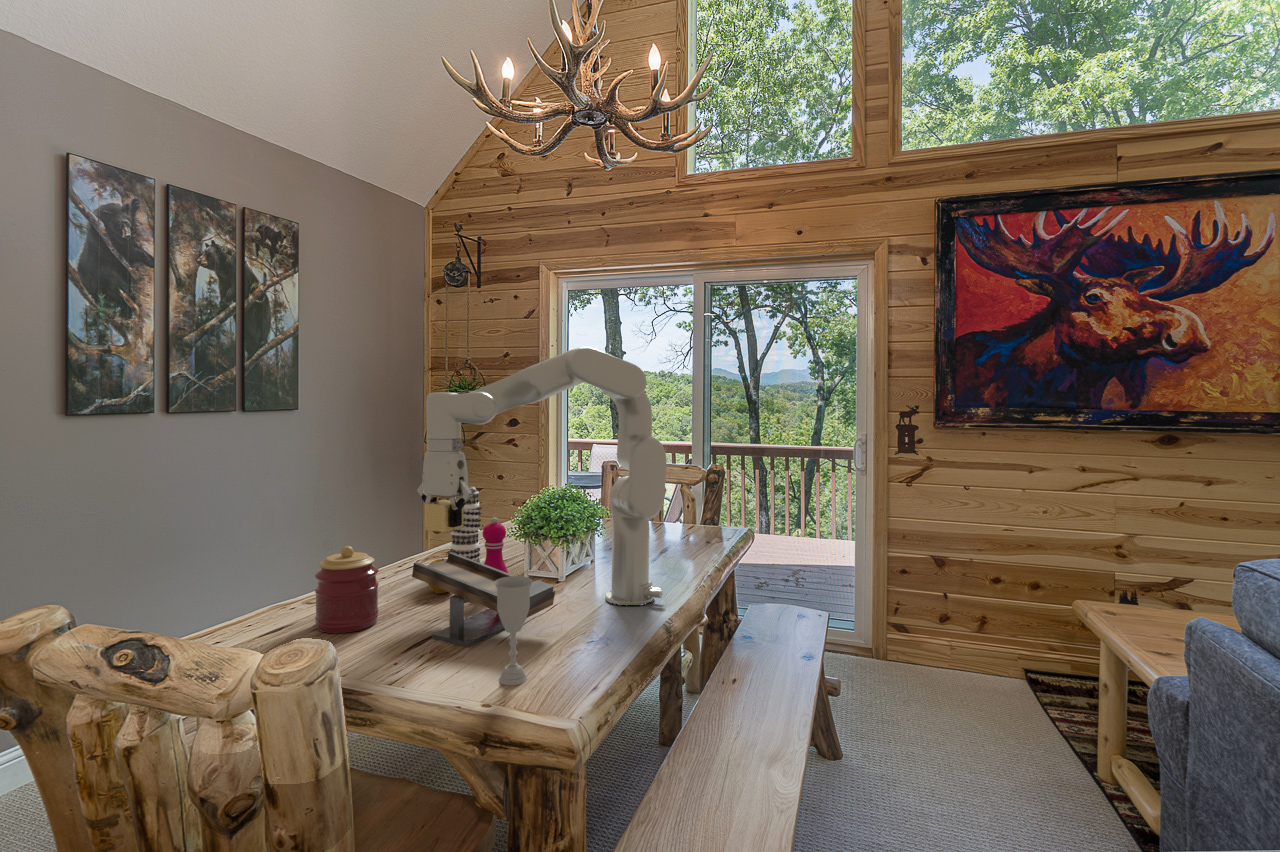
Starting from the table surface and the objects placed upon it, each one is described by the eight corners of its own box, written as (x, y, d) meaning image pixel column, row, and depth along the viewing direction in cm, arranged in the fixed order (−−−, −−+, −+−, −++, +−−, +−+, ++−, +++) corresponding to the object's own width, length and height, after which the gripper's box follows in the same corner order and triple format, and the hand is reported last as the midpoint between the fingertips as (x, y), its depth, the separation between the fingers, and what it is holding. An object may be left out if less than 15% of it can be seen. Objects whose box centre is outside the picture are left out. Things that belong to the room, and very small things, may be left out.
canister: (391, 618, 147) (391, 542, 146) (348, 638, 135) (348, 555, 134) (346, 611, 151) (346, 538, 151) (301, 630, 139) (300, 549, 138)
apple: (462, 595, 165) (462, 561, 165) (425, 599, 162) (425, 564, 161) (458, 585, 173) (458, 553, 173) (423, 589, 170) (423, 555, 170)
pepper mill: (501, 597, 163) (501, 520, 163) (475, 595, 165) (475, 519, 164) (512, 589, 171) (512, 515, 170) (487, 587, 172) (487, 514, 171)
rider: (463, 527, 147) (463, 501, 147) (445, 532, 142) (445, 505, 141) (443, 525, 150) (443, 499, 149) (424, 529, 144) (424, 503, 144)
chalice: (496, 671, 120) (497, 576, 119) (533, 670, 120) (534, 575, 119) (491, 688, 112) (491, 587, 111) (530, 687, 113) (530, 587, 112)
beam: (553, 609, 141) (557, 584, 141) (518, 627, 130) (522, 600, 129) (450, 568, 154) (453, 545, 153) (409, 582, 142) (412, 557, 141)
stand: (526, 617, 149) (526, 578, 148) (469, 647, 131) (469, 603, 130) (492, 611, 153) (492, 573, 153) (431, 638, 135) (432, 595, 135)
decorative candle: (476, 576, 182) (477, 489, 181) (444, 576, 183) (444, 489, 182) (485, 568, 192) (485, 485, 191) (454, 567, 192) (454, 485, 191)
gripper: (485, 446, 145) (485, 525, 145) (427, 444, 152) (427, 518, 153) (462, 449, 138) (462, 531, 139) (403, 446, 145) (403, 524, 146)
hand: (444, 524), depth 146 cm, fingers closed on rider, 6 cm apart
